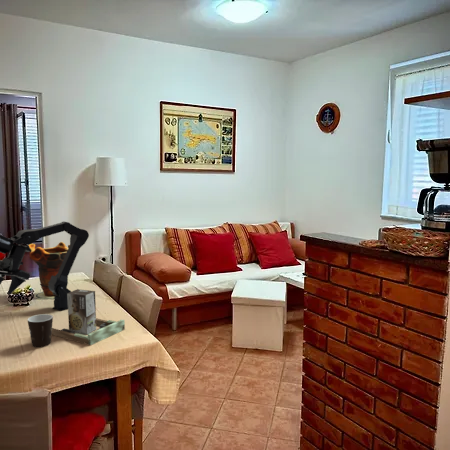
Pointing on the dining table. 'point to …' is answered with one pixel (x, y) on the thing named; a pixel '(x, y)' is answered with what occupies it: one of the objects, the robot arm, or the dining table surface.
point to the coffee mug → (40, 329)
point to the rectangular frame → (104, 332)
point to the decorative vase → (47, 265)
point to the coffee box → (82, 311)
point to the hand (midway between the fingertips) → (1, 293)
